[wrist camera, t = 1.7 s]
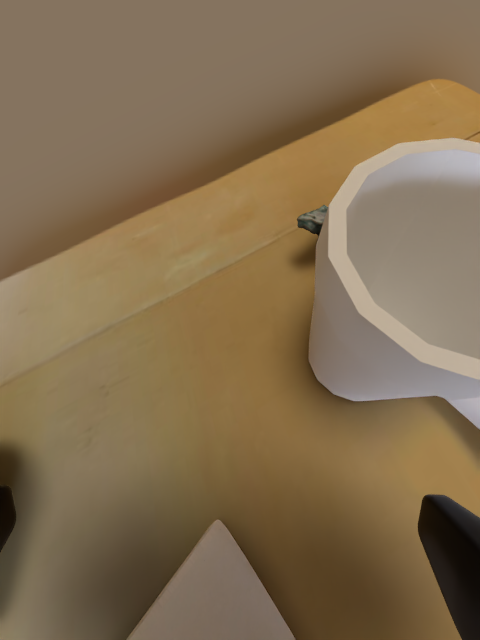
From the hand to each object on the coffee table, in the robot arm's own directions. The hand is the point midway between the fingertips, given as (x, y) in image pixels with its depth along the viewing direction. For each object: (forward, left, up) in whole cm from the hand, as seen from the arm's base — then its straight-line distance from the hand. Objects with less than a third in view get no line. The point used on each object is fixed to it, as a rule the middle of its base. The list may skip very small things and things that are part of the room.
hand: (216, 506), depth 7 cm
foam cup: (+8, -7, -14) cm, 18 cm away
